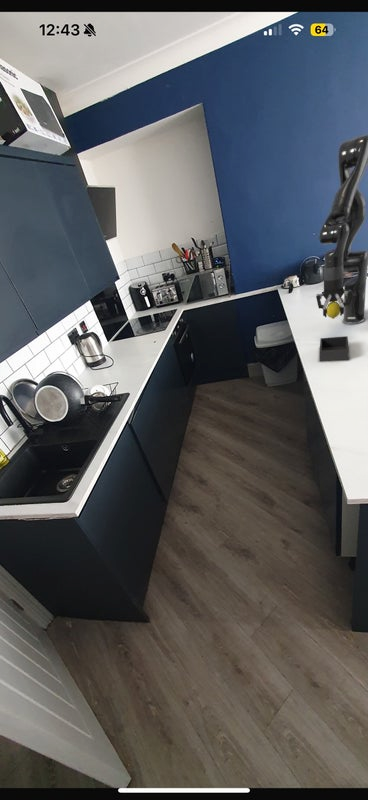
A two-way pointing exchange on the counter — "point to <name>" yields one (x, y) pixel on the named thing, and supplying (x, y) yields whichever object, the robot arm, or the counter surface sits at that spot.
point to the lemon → (333, 309)
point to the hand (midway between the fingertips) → (333, 315)
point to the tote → (334, 349)
